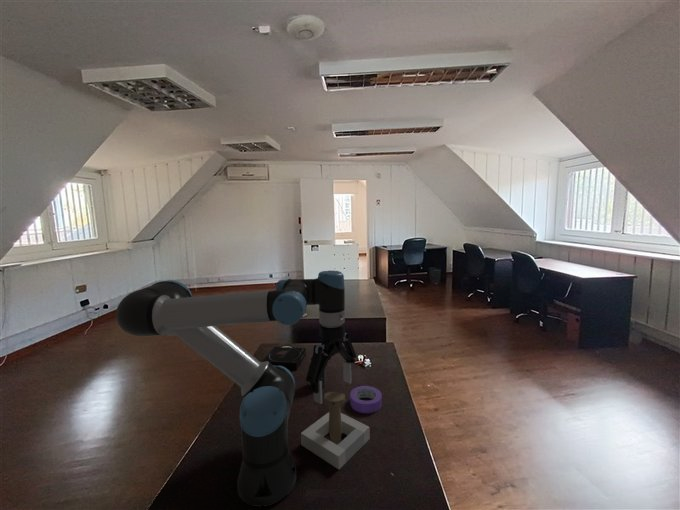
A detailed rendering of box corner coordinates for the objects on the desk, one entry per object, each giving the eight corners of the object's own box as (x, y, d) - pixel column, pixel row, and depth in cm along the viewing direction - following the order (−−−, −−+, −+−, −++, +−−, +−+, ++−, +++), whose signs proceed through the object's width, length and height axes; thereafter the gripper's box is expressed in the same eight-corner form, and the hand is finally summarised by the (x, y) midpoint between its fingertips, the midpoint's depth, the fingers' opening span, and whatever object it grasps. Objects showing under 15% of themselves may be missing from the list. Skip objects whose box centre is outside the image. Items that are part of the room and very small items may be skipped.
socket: (339, 469, 84) (338, 456, 84) (301, 445, 94) (300, 433, 93) (369, 438, 96) (369, 426, 95) (333, 419, 105) (333, 408, 105)
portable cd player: (273, 354, 159) (273, 346, 158) (305, 355, 156) (305, 348, 156) (261, 369, 143) (260, 361, 142) (296, 371, 140) (296, 363, 140)
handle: (345, 448, 92) (344, 401, 90) (324, 446, 93) (322, 400, 91) (347, 437, 97) (345, 392, 95) (327, 435, 97) (325, 391, 96)
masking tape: (388, 403, 114) (387, 393, 114) (368, 418, 106) (368, 407, 105) (363, 391, 122) (363, 382, 122) (343, 404, 114) (343, 395, 113)
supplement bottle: (319, 391, 122) (318, 363, 121) (305, 387, 126) (304, 359, 125) (328, 383, 128) (328, 356, 127) (315, 379, 132) (314, 352, 130)
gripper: (311, 339, 78) (313, 417, 81) (366, 315, 97) (367, 378, 100) (291, 333, 83) (294, 406, 85) (348, 311, 102) (349, 371, 105)
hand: (333, 391), depth 93 cm, fingers open, 13 cm apart
